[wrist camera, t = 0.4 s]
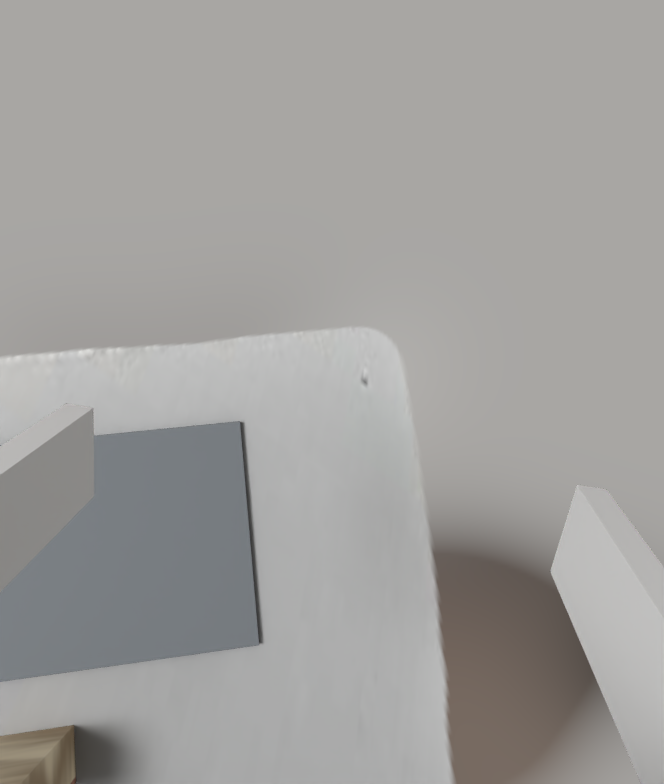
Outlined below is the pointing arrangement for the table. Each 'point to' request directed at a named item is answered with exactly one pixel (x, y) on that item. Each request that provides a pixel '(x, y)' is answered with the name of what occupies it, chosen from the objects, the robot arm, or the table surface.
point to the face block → (38, 757)
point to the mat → (140, 560)
